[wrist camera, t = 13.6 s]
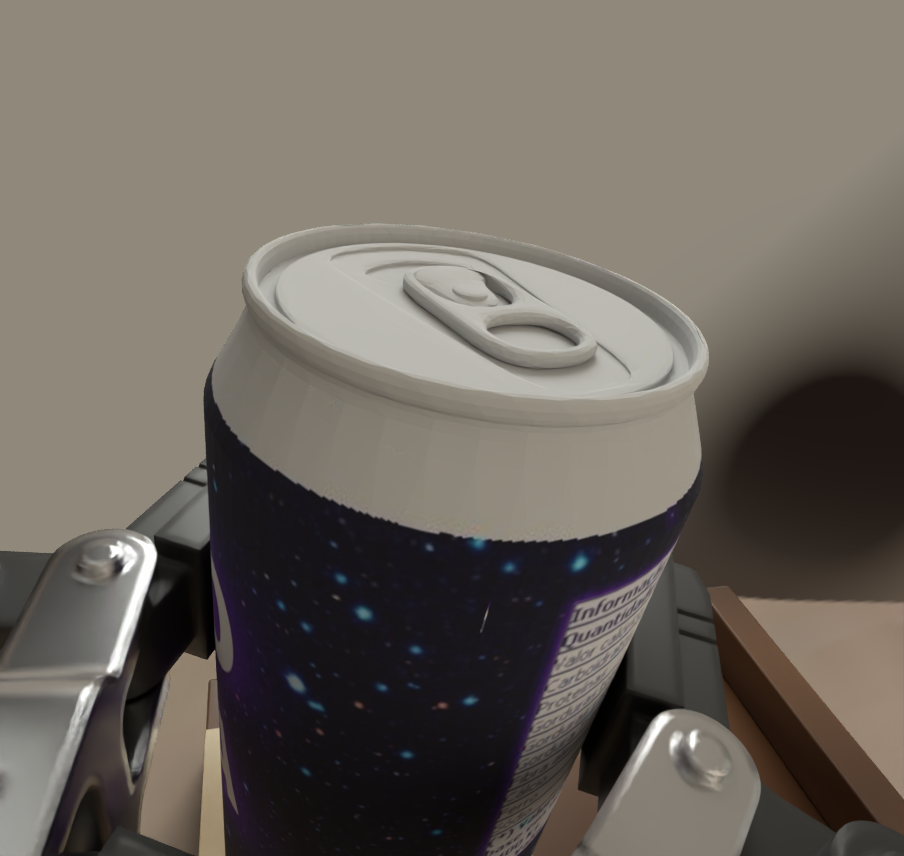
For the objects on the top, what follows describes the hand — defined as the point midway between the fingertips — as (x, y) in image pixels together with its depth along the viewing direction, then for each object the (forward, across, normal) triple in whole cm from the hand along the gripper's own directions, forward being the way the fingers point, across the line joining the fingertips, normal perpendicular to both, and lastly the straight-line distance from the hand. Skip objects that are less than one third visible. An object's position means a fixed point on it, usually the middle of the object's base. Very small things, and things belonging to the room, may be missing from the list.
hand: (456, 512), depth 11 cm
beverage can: (-2, 0, +7) cm, 8 cm away
